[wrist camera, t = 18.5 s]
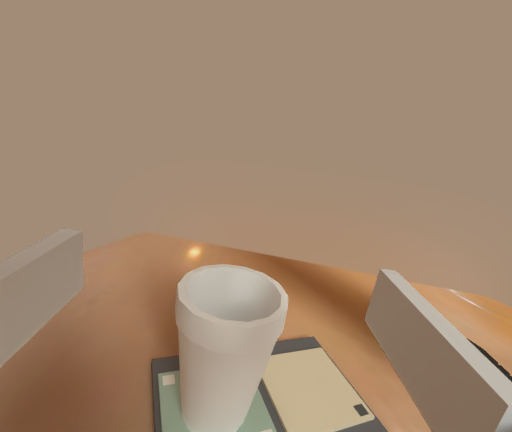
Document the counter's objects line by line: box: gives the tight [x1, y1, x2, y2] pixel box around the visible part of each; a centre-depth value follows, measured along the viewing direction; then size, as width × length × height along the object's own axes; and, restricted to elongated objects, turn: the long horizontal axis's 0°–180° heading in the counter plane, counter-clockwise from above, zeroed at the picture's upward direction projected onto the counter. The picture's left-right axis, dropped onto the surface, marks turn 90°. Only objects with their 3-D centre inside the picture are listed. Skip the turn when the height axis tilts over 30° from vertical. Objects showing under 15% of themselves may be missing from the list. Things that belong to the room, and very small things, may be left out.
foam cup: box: [175, 264, 288, 432], centre depth 26 cm, size 10×9×13 cm
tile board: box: [151, 337, 388, 432], centre depth 30 cm, size 22×15×1 cm
